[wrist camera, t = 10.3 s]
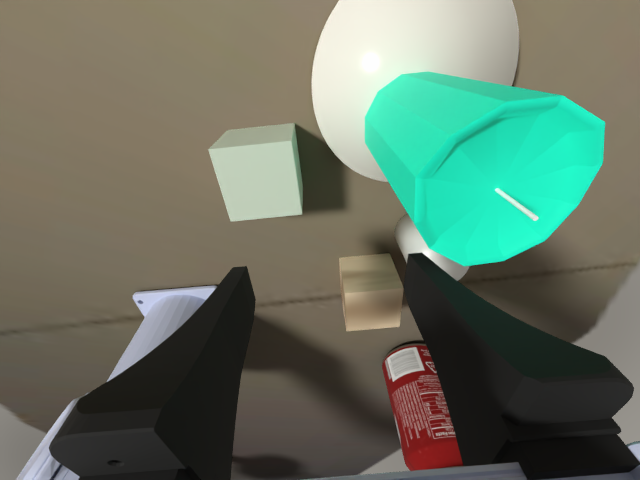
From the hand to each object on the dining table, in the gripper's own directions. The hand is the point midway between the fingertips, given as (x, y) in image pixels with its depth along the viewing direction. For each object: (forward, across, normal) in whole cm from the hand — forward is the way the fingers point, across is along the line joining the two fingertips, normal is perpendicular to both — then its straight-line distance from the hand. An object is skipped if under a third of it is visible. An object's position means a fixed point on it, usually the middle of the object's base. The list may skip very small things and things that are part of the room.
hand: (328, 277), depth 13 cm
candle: (+9, -6, -4) cm, 12 cm away
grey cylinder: (+10, -8, +5) cm, 14 cm away
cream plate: (+10, -6, -6) cm, 14 cm away
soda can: (+11, -9, +23) cm, 27 cm away
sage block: (+10, +4, -2) cm, 11 cm away
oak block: (+10, -4, +9) cm, 14 cm away
